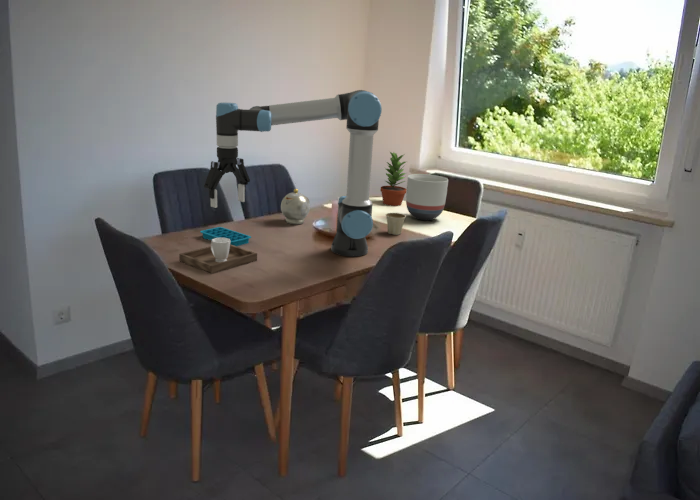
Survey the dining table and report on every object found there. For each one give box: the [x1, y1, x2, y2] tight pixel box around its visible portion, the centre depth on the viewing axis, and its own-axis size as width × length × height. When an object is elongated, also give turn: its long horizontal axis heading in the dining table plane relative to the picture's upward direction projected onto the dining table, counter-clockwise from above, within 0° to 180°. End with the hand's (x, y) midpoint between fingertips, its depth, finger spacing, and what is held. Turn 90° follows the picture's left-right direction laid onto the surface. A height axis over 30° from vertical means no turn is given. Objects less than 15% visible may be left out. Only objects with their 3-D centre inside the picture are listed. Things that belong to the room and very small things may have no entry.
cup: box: [210, 238, 231, 263], centre depth 223 cm, size 7×10×8 cm
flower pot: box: [385, 212, 407, 236], centre depth 276 cm, size 9×9×9 cm
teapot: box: [280, 188, 311, 226], centre depth 283 cm, size 18×14×16 cm
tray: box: [178, 244, 258, 275], centre depth 223 cm, size 18×22×3 cm
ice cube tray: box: [200, 226, 252, 247], centre depth 250 cm, size 12×20×3 cm, turn 53°
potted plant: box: [380, 150, 407, 207], centre depth 332 cm, size 15×15×30 cm
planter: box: [405, 173, 449, 221], centre depth 304 cm, size 20×20×21 cm
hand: (228, 204), depth 222 cm, fingers open, 13 cm apart
